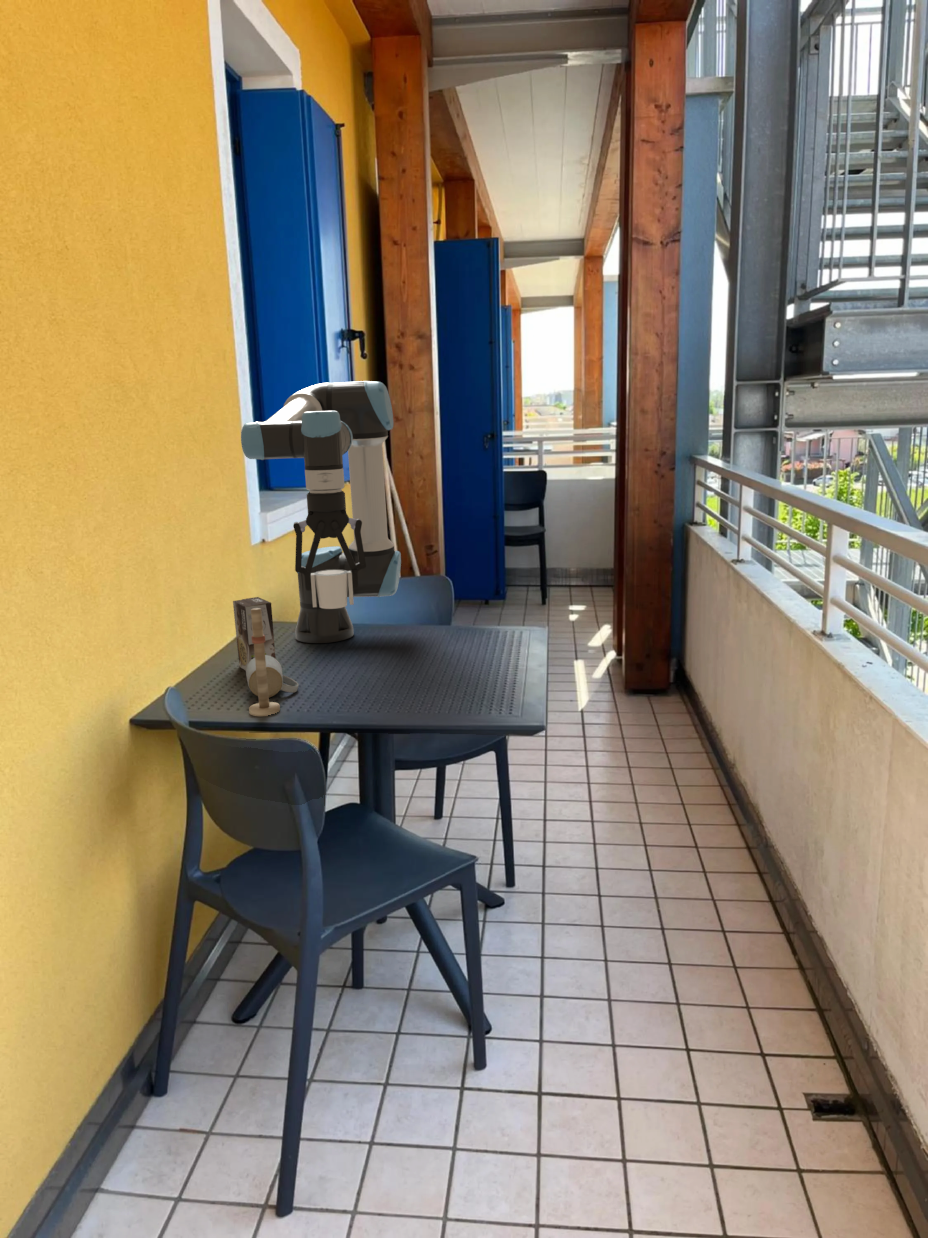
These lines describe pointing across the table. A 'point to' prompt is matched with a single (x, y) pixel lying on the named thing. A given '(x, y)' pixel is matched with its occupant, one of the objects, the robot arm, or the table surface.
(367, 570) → the robot arm
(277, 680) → the ceramic mug
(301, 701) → the table surface
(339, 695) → the table surface
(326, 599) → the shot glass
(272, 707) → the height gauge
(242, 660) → the coffee box
